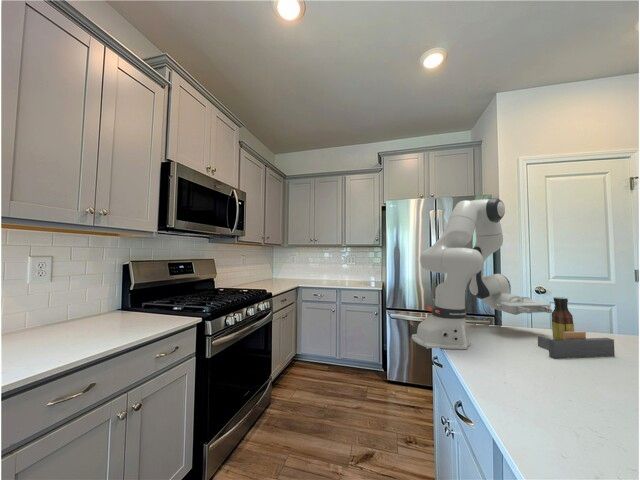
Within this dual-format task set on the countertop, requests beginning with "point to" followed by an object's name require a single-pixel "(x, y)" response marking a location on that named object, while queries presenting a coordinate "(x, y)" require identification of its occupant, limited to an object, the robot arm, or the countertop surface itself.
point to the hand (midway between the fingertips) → (540, 311)
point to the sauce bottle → (561, 318)
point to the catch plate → (574, 335)
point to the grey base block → (577, 347)
